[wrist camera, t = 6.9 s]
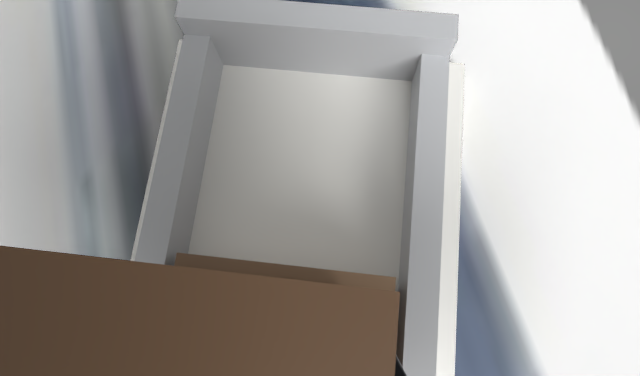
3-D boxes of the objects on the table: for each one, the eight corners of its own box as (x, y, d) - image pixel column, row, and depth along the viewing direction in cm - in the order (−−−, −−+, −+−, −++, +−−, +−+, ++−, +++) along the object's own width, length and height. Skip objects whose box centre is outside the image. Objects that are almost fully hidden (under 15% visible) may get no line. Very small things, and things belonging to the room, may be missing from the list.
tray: (435, 682, 13) (485, 870, 9) (65, 620, 14) (-56, 767, 10) (458, 75, 18) (496, 7, 14) (186, 52, 19) (143, -20, 15)
